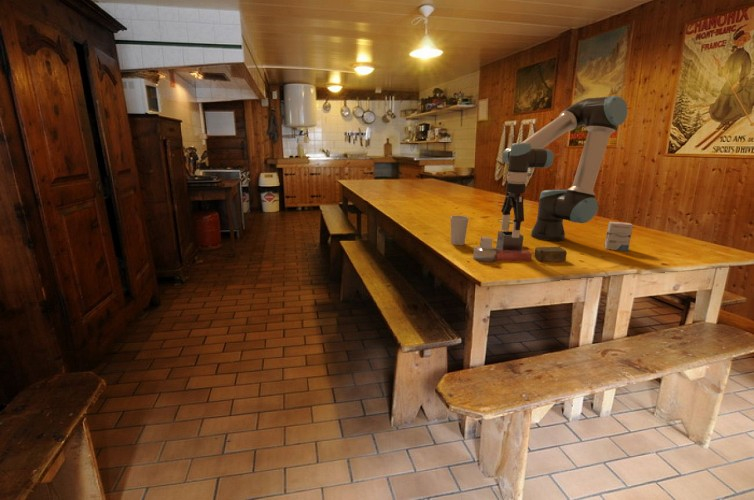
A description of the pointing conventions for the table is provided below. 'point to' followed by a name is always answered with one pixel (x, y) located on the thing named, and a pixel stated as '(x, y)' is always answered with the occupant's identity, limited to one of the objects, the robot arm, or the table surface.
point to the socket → (508, 241)
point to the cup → (458, 229)
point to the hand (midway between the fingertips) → (509, 233)
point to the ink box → (618, 236)
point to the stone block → (550, 254)
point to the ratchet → (498, 253)
